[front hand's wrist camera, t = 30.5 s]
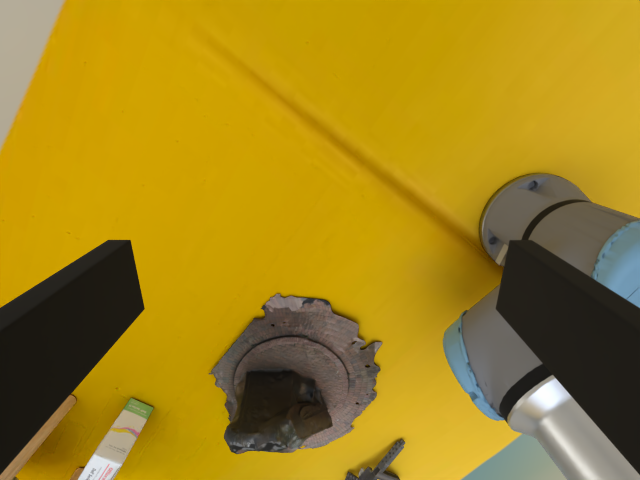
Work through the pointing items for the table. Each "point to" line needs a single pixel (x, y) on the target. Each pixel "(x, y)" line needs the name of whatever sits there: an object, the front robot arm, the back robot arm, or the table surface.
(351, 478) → the toy gun
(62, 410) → the planter
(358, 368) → the sculpture
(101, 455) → the ink box
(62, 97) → the table surface
